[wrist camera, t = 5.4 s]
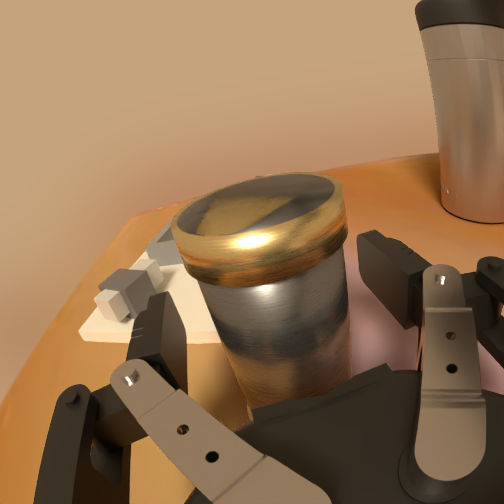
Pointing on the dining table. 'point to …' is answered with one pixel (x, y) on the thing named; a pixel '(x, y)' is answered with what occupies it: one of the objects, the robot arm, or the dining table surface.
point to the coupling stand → (144, 285)
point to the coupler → (274, 281)
